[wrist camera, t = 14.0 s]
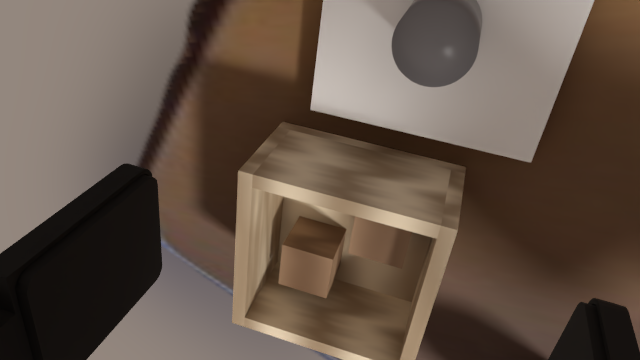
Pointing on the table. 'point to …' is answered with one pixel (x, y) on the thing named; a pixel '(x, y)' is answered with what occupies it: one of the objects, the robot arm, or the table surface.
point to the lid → (448, 67)
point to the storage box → (340, 210)
